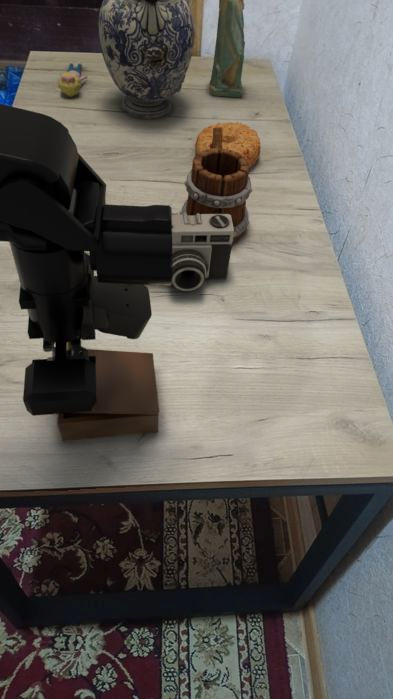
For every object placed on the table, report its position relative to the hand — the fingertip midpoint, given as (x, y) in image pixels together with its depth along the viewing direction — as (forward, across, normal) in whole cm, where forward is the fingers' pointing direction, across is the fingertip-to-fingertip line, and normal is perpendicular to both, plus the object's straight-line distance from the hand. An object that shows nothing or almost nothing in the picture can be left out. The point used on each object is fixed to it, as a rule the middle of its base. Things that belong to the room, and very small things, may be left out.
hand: (72, 373), depth 55 cm
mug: (+8, +36, -23) cm, 43 cm away
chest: (+8, 0, -4) cm, 9 cm away
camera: (+8, +22, -16) cm, 28 cm away
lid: (+2, 0, -3) cm, 4 cm away
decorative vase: (+8, +75, -15) cm, 77 cm away
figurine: (+8, +86, +1) cm, 86 cm away
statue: (+7, +82, -34) cm, 89 cm away
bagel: (+7, +55, -29) cm, 63 cm away
